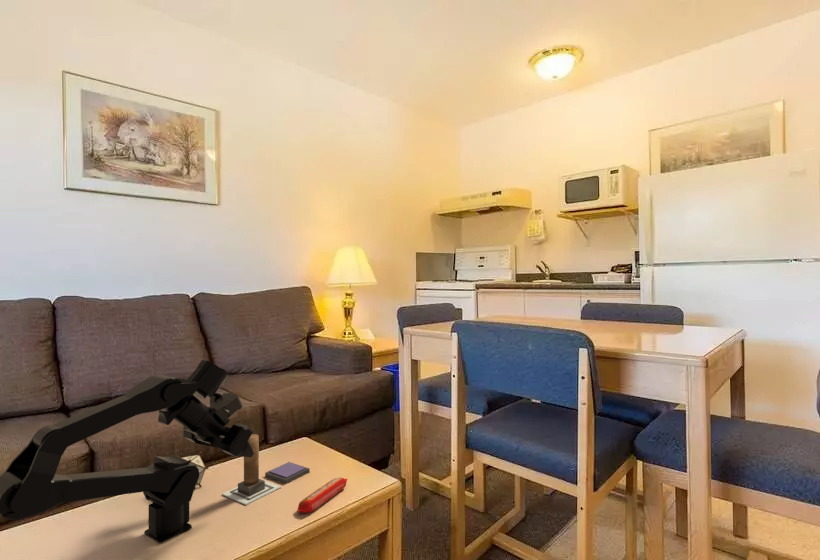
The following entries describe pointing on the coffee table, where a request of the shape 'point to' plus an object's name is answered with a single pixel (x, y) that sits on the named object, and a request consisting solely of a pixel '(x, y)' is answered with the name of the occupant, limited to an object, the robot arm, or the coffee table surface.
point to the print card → (247, 500)
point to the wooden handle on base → (252, 470)
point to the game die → (200, 465)
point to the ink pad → (287, 472)
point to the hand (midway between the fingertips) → (239, 451)
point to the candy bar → (321, 495)
